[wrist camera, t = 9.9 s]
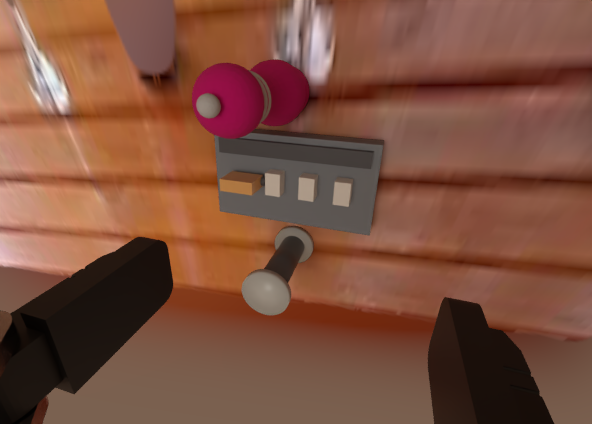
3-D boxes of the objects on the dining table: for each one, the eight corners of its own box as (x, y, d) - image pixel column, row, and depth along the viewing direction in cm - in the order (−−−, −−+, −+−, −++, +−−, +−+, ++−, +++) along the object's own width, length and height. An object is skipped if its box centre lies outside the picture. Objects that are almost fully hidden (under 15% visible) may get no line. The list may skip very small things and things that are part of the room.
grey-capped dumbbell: (314, 229, 47) (289, 279, 36) (312, 262, 50) (288, 319, 38) (277, 223, 48) (240, 269, 37) (276, 256, 51) (242, 309, 40)
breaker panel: (384, 140, 39) (382, 148, 35) (371, 225, 44) (368, 242, 40) (224, 126, 44) (206, 131, 40) (229, 203, 49) (213, 216, 45)
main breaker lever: (266, 174, 42) (254, 183, 38) (266, 185, 42) (255, 195, 39) (231, 169, 43) (216, 178, 40) (231, 181, 44) (217, 190, 40)
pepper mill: (308, 125, 41) (245, 165, 24) (257, 115, 43) (161, 146, 25) (317, 65, 38) (252, 59, 20) (262, 56, 39) (156, 44, 22)
